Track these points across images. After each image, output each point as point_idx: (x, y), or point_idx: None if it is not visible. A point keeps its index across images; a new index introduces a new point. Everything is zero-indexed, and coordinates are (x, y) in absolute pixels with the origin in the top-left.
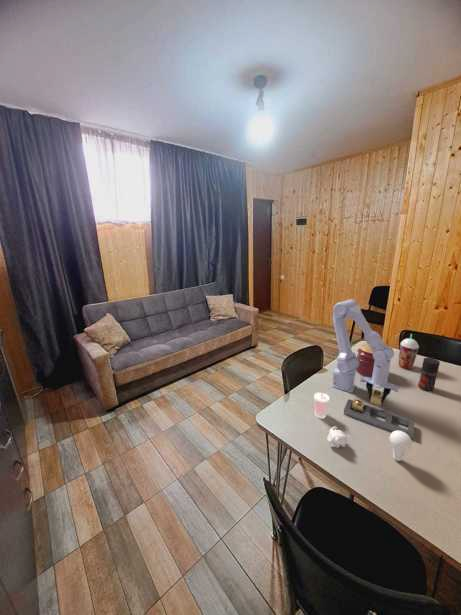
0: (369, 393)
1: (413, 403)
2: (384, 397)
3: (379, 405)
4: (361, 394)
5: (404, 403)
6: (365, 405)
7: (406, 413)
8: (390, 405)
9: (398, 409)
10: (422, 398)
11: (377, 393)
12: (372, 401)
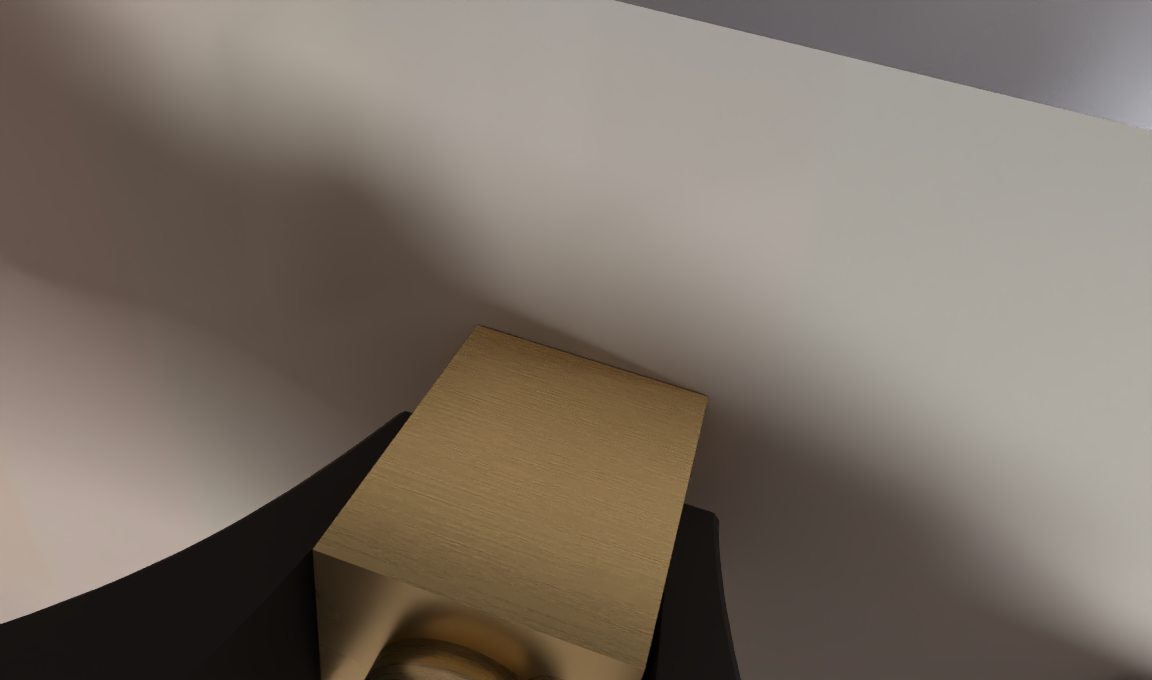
0: (715, 674)
1: (41, 509)
2: (251, 530)
3: (490, 341)
4: (866, 646)
5: (130, 492)
6: (1010, 14)
7: (17, 229)
8: (299, 402)
9: (157, 314)
10: (7, 608)
11: (440, 677)
12: (646, 427)
